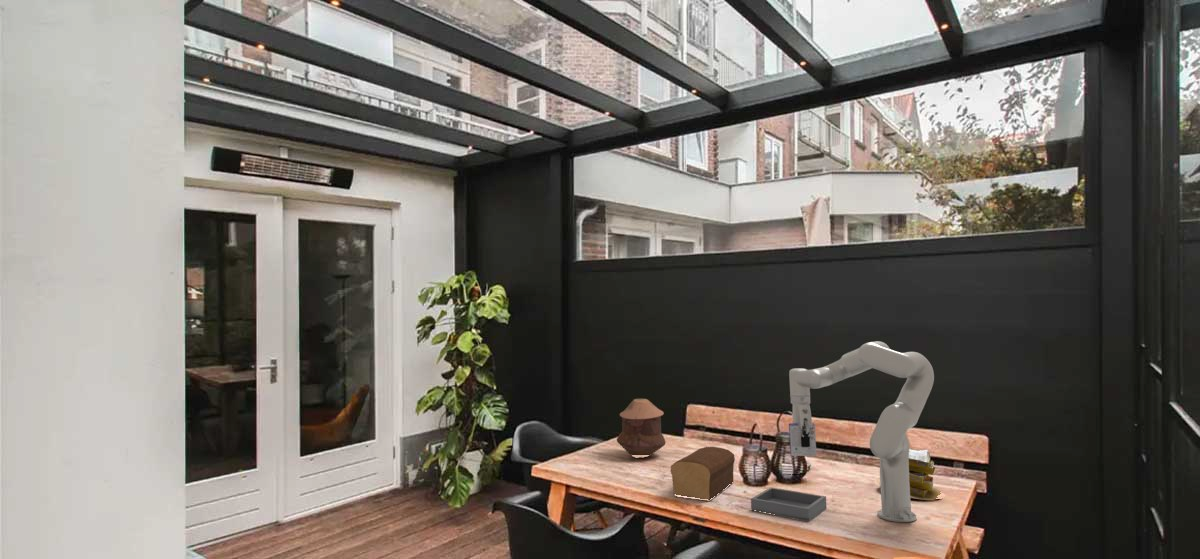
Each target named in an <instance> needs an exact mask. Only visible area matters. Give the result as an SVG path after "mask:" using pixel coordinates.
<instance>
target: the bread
mask: <svg viewBox="0 0 1200 559" xmlns="http://www.w3.org/2000/svg"><path fill="white" fill-rule="evenodd" d="M735 460H736V457H735V453H733V452H732V451H731V450H729V449H726V448H724V447H723V448H722V447H717V446H705V447H701V448H698V449H696V450H695V451H693V452H692V453H690V454H688V455H687V456H684V457H683V458H680V459H679V460H677V461H675V462H674V463H673V464H671V465H670V473H671V479H672V480H671V481H672V488H673V495H674V494H676V495H681V496H687V497H695V498H700V499H708V500H710V499H711V498H713V497H714V496H716V495H717V494H718V493H720V492H721V491H722V490H723V489H725V488H726V487H727V486H728V485H729V484H731V483H732V482H733V483H734V465H735ZM721 493H722V492H721ZM721 493H720V494H721ZM716 497H717V496H716Z"/></svg>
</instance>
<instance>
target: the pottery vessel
mask: <svg viewBox="0 0 1200 559" xmlns="http://www.w3.org/2000/svg"><path fill="white" fill-rule="evenodd" d="M663 415H664V411H663V410H661V409H660V408H658V407H657V406H656V405H655V404H653V402H651V401H650V400H649V399H647V398H634V399H632V401H631V402H630V403H629V404H628V406H627V407H626V408H625V409H624V410H623V411H621V412H620V413H619V417H621V420H622V421H621V426H622V428H621V429H622V431H621V432H620V433H619V435H618V436H617V438H616V442H617V444H618V445H620V446H621V447H622V448H623V449H624V450H625V451H626V453H628V454H630V455H631V454H632V455H650V454H651V455H653V454H654V453H657V451H659V450H660V449H662V448H663V447H664V446H665V445H666V439H665V437H664V434H663V433H662V421H661V420H662V418H661V417H663ZM651 455H650V456H651Z"/></svg>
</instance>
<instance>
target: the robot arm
mask: <svg viewBox="0 0 1200 559" xmlns="http://www.w3.org/2000/svg"><path fill="white" fill-rule="evenodd" d="M871 369H874V370H877V371H880V372H883V373H885V374H887V375H891V376H894V377H897V378H900V379H906V381H905V383H904V384H903V386H902V388H901V390H900V392H899V395H898V397H897V398H896V401H895V402H894V403H893V404H892V403H891V404H890V405H888V406H886V407H885V408H884V409H883V411H882V412H881V414H880V415H879V418H878V420H877V422H876V424H875V426H874V430H873V432H872V434H871V437H870V439H869V449H870V451H871V452H872V454H873V455H874V456H875V457H876V458H878V459H879V478H880V485H881V486H880V485H879V486H880V502H881V503H880V504H881V508H880V509H878V510H877V511H876V512H877V516H878V517H879V518H880V519H882V520H884V521H889V522H894V523H911V522H914V521H916V520H917V514H915V513H914V512H913V511H912V503H911V497H910V483H909V449H910V440H909V436H908V435H907V434H906V433H907V432H908V430H909V429H912V428H914V427H915V426H916V425H917V423H918V420H919V418H920V416H921V414H922V412H923V410H924V408H925V405H926V403H927V400H928V398H929V396H930V393H931V391H932V388H933V386H934V382H935V374H934V373H935V372H934V369H933V366H932V364H931V363H930V361H929V360H928V359H927V358H926V357H925V356H924V355H923V354H922V353H920V352H916V351H906V352H899V351H896V350H893V349H891V348H890V347H889V345H887V343H885V342H883V341H880V340H879V341H878V340H876V341H870V342H866V343H864V344H862V345H860V347H859V348H856V349H854V350H851V351H848V352H846V353H844V354H843V355H842V356H841V357H840V359H838V360H836V361H834V362H832V363H830V364H828V365H825V366H823V367H818V368H817V367H816V368H813V369H806V368H804V367H803V368H802V367H801V368H799V367H798V368H796V367H795V368H792V369H790V370H789V371H788V372H789V373H788V374H789V375H788V376H789V392H790V394H789V397H790V404H792V423H795V424H797V425H798V428H799V429H801V435H802V437H801V446H802V447H810V439H809V436H810V435H809V431H810V429H812V423H813V419H812V411H811V406H810V404H811V391H810V390H811V389H814V390H815V389H821V388H824V387H829V386H831V385H834V384H837V383H838V382H840V381H844V380H846V379H848V378H851V377H852V378H853V377H854V376H856V375H859V374H862V373H863V372H866V371H868V370H871ZM802 427H805V429H802ZM803 431H804V433H803Z"/></svg>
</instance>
